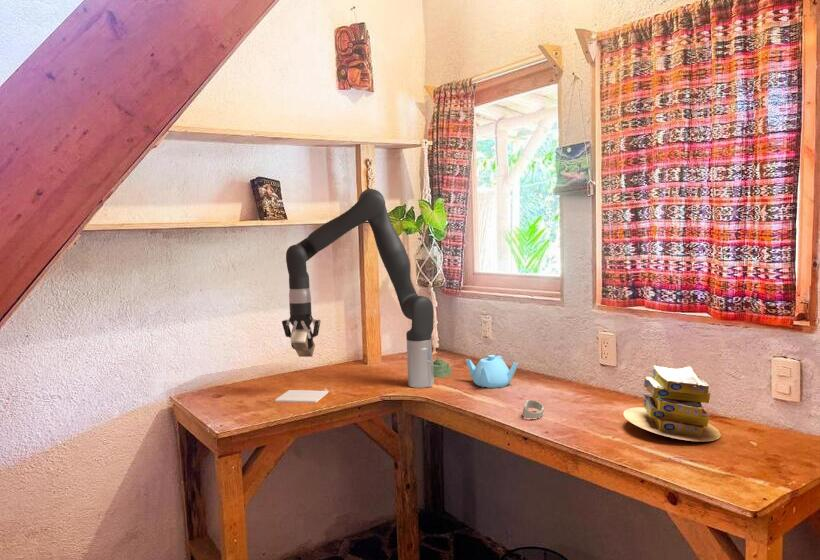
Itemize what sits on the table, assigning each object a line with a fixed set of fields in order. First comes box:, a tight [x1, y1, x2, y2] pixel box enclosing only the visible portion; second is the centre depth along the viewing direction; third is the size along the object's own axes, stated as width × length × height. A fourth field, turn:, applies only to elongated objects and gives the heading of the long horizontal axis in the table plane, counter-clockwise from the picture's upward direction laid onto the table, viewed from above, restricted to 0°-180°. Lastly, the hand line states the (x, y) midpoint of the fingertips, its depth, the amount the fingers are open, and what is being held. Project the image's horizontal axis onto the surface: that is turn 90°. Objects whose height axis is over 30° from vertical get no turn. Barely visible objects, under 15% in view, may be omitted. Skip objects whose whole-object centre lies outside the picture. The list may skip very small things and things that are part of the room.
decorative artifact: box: [433, 356, 452, 378], centre depth 244 cm, size 10×7×10 cm
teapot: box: [465, 354, 519, 389], centre depth 225 cm, size 15×15×11 cm
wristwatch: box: [521, 398, 545, 419], centre depth 187 cm, size 9×6×5 cm
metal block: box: [290, 329, 316, 358], centre depth 219 cm, size 5×5×10 cm
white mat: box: [274, 389, 329, 404], centre depth 217 cm, size 15×13×1 cm
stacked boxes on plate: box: [623, 365, 722, 442], centre depth 170 cm, size 25×25×17 cm
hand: (302, 348), depth 218 cm, fingers closed on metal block, 5 cm apart
